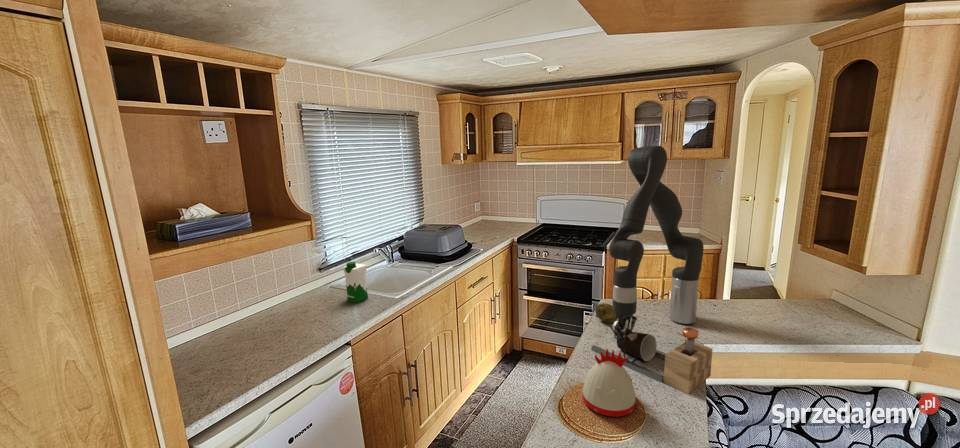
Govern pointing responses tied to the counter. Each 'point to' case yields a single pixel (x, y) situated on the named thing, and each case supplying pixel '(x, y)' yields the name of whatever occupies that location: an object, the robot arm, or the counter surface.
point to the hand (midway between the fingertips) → (622, 346)
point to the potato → (605, 312)
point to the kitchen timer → (609, 387)
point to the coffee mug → (638, 345)
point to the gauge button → (690, 340)
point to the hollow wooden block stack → (687, 367)
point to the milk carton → (356, 282)
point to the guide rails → (634, 365)
